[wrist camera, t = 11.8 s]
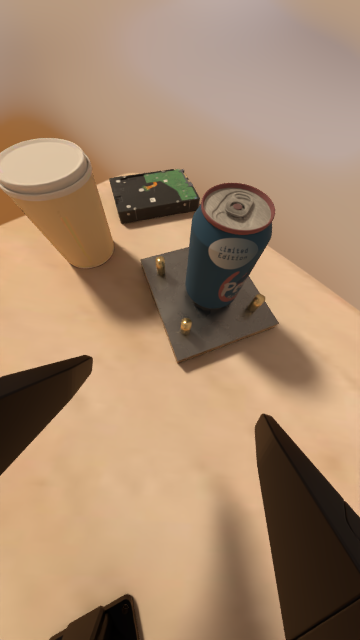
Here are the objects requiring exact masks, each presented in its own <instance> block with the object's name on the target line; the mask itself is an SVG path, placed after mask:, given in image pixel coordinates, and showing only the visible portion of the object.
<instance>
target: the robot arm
mask: <svg viewBox="0 0 360 640" xmlns="http://www.w3.org/2000/svg"><path fill="white" fill-rule="evenodd" d="M92 364H93V358H92V357H90V356H87V355H83V356H79V357H75V358H71V359H67V360H63V361H60V362H56V363H52V364H48V365H44V366H40V367H37V368H33V369H29V370H25V371H21V372H17V373H14V374H10V375H6V376H2V377H1V378H0V475H1V474H2V473H3V472H4V471H5V470H6V469H7V468H8V467H9V466H10V465H11V464H12V463H13V461H14V460H15V459H16V458H17V457H18V456H19V455H20V454H21V453H22V452H23V451H24V450H25V448H26V447H27V446H28V445H29V444H30V443H31V442H32V441H33V440H34V439H35V438H36V437H37V436H38V434H39V433H40V432H41V431H42V430H43V429H44V428H45V427H46V426H47V425H48V424H49V423H50V421H51V420H52V419H53V418H54V417H55V416H56V415H57V414H58V413H59V412H60V411H61V410H62V409H63V407H64V406H65V405H66V404H67V403H68V402H69V401H70V400H71V399H72V397H73V396H74V395H75V394H76V392H77V391H78V390H79V388H80V387H81V386H82V384H83V383H84V382H85V380H86V379H87V378H88V377H89V375H90V374H91V372H92ZM255 442H256V457H257V467H258V474H259V480H260V486H261V492H262V498H263V504H264V510H265V517H266V523H267V529H268V535H269V541H270V547H271V553H272V559H273V565H274V571H275V577H276V583H277V590H278V596H279V602H280V608H281V614H282V620H283V626H284V632H285V638H286V640H360V517H359V516H358V515H357V514H356V513H355V512H354V510H353V509H352V508H351V507H350V506H349V505H348V503H347V502H345V501H344V499H343V498H342V497H341V496H340V494H339V493H338V492H337V491H336V490H335V489H334V487H333V486H332V485H331V484H330V483H329V482H328V481H327V479H326V478H325V477H324V476H323V475H322V474H321V473H320V471H319V470H318V469H317V468H316V467H315V466H314V464H313V463H312V462H311V461H310V460H309V459H308V458H307V456H306V455H305V454H304V453H303V452H302V451H301V450H300V448H299V447H298V446H297V445H296V444H295V443H294V441H293V440H292V439H291V438H290V437H289V436H288V435H287V433H286V432H285V431H284V430H283V429H282V428H281V427H280V425H279V424H278V423H277V422H276V421H275V420H274V418H273V417H272V416H270V415H267V414H261V416H260V418H259V420H258V421H257V423H256V425H255ZM124 604H127V605H128V608H127V609H125V608H124V607H123V605H124ZM49 640H139V634H138V628H137V623H136V617H135V611H134V605H133V600H132V597H131V596H130V595H129V594H126V595H124V596H122V597H120V598H118V599H117V600H115V601H113V602H111V603H110V604H108V605H106V606H105V607H103V606H99V607H98V608H96V609H94V610H92V611H91V612H89V613H87V614H85V615H84V616H82V617H80V618H78V619H77V620H75V621H73V622H71V623H70V624H69V625H68V627H67V628H66V629H65V630H63V631H61V632H59V633H58V634H56V635H54V636H53V637H51V638H50V639H49Z"/></svg>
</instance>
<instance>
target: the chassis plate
mask: <svg viewBox="0 0 360 640" xmlns="http://www.w3.org/2000/svg"><path fill="white" fill-rule="evenodd" d="M188 254H189V247H188V248H184V249H180V250H176V251H172V252H168V253H164V254H160V255H156V256H152V257H149V258H145V259H141V264H142V268H143V270H144V273H145V276H146V279H147V281H148V284H149V287H150V290H151V292H152V295H153V298H154V301H155V304H156V306H157V309H158V312H159V315H160V317H161V320H162V323H163V326H164V328H165V331H166V334H167V337H168V339H169V342H170V345H171V348H172V350H173V353H174V356H175V359H176V361H177V363H180V362H182V361H185V360H188V359H191V358H193V357H196V356H199V355H201V354H204V353H207V352H209V351H212V350H215V349H217V348H220V347H223V346H225V345H228V344H231V343H234V342H236V341H239V340H242V339H244V338H247V337H250V336H252V335H255V334H258V333H260V332H263V331H266V330H268V329H271V328H274V327H275V326H276V325H278V324H279V323H278V321H277V319H276V318H275V316H274V315H273V313H272V312H271V310H270V308H269V307H268V305H267V304H266V302H265V297H264V296H263V295H262V294H260V293H259V291H258V290H257V288H256V287H255V285H254V284H253V282H252V280H251V279H250V277H249V276H248V277H247V279H246V281H245V282H244V284H243V286H242V287H241V289H240V291H239V292H238V294H237V296H236V297H235V299H234V300H233V301H232V302H231V303H230V304H228V305H227V306H224V307H222V308H216V309H211V308H205V307H202V306H200V305H198V304H197V303H195V302H194V301H193V300H192V299H191V298H190V296H189V295H188V293H187V290H186V286H185V282H186V273H187V263H188Z"/></svg>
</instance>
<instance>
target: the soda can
mask: <svg viewBox="0 0 360 640" xmlns="http://www.w3.org/2000/svg"><path fill="white" fill-rule="evenodd" d="M274 215H275V208H274V204H273V202H272V201H271V199H270V198H269V197H268V196H267V195H266V194H265V193H263V192H262V191H260V190H258V189H257V188H254V187H252V186H249V185H245V184H240V183H224V184H220V185H216V186H214V187H212V188H210V189H209V190H208V191H207V192H206V193H205V194H204V196H203V198H202V202H201V205H200V206H199V207H198V209H197V210H196V212H195V213H194V215H193V218H192V226H191V235H190V244H189V254H188V263H187V273H186V282H185V286H186V290H187V293H188V295H189V296H190V298H191V299H192V300H193V301H194V302H195V303H197V304H198V305H200V306H202V307H205V308H211V309H216V308H222V307H224V306H227V305H228V304H230V303H231V302H232V301H233V300H234V299H235V297H236V296H237V294H238V292H239V291H240V289H241V287H242V286H243V284H244V282H245V281H246V279H247V277H248V276H249V274H250V272H251V271H252V269H253V267H254V266H255V264H256V262H257V261H258V259H259V258H260V256H261V254H262V253H263V251H264V249H265V248H266V246H267V244H268V242H269V240H270V238H271V235H272V221H273V219H274Z"/></svg>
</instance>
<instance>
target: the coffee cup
mask: <svg viewBox="0 0 360 640" xmlns="http://www.w3.org/2000/svg"><path fill="white" fill-rule="evenodd" d="M0 188H1V189H2V190H3V191H4V192H5V193H7V194H8V195H9V196H10V197H11V198H12V200H13V201H14V202H15V203H16V204H17V205H18V207H19V208H20V209H21V210H22V211H23V212H24V213H25V215H26V216H27V217H28V218H29V219H30V220H31V221H32V222H33V223H34V225H35V226H36V227H37V228H38V229H39V230H40V231H41V232H42V234H43V235H44V236H45V237H46V238H47V239H48V240H49V241H50V242H51V243H52V245H53V246H54V247H55V248H56V249H57V250H58V251H59V252H60V253H61V255H62V256H63V257H64V258H65V259H66V260H67V261H68V262H69V263H70V264H72V265H74V266H76V267H79V268H93V267H97V266H99V265H102V264H103V263H105V262H106V261H107V260H108V259H109V258H110V257H111V256H112V254H113V251H114V244H113V240H112V236H111V233H110V229H109V226H108V223H107V219H106V216H105V213H104V209H103V206H102V203H101V199H100V196H99V193H98V189H97V186H96V183H95V180H94V177H93V174H92V167H91V163H90V160H89V158H88V157H87V156H86V155H85V154H84V152H83V151H82V149H81V148H80V147H79V146H77V145H76V144H74V143H72V142H70V141H67V140H62V139H54V138H40V139H33V140H28V141H24V142H21V143H18V144H15V145H13V146H11V147H9V148H7V149H6V150H4V151H3V152H1V153H0Z"/></svg>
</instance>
